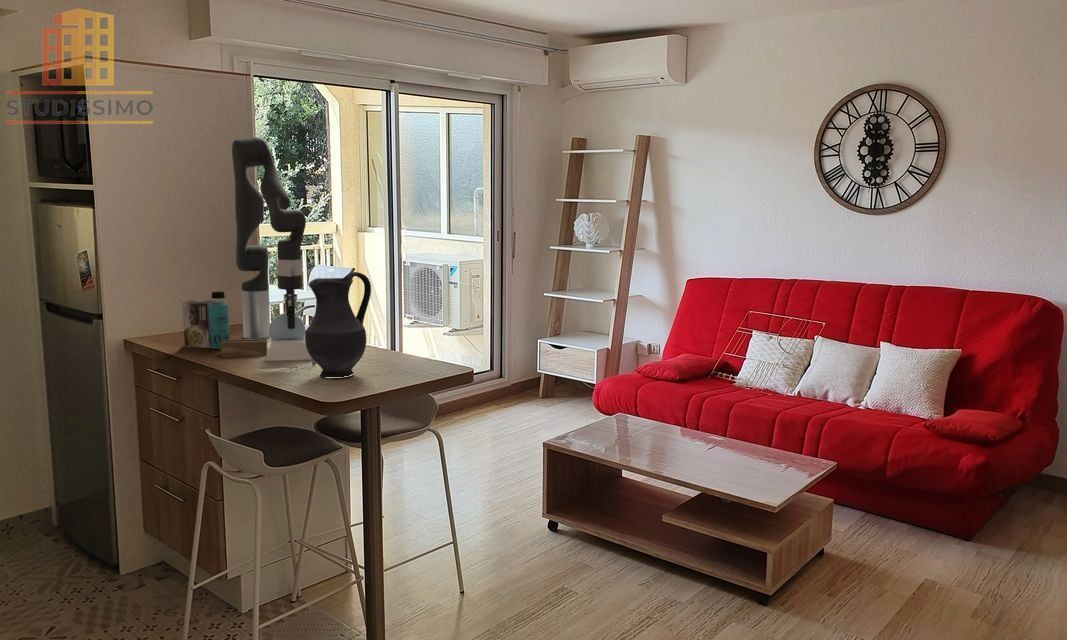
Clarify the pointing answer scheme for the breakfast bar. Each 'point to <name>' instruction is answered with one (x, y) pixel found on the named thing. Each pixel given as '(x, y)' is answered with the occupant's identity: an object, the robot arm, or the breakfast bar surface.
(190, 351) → the breakfast bar surface
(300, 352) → the rack
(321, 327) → the pitcher
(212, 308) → the beverage bottle
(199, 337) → the coffee box
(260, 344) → the stand
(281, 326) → the plate
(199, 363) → the breakfast bar surface
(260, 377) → the breakfast bar surface
